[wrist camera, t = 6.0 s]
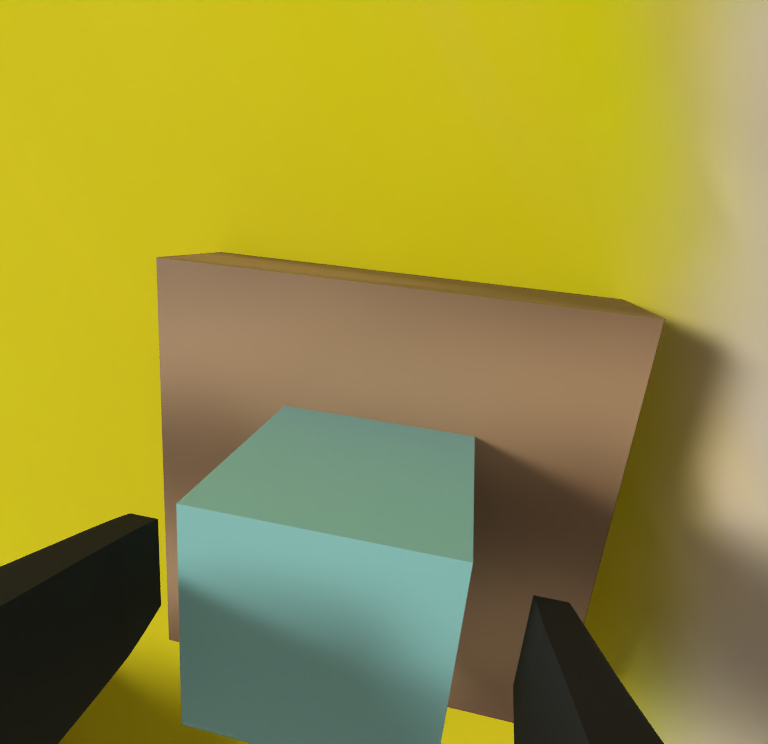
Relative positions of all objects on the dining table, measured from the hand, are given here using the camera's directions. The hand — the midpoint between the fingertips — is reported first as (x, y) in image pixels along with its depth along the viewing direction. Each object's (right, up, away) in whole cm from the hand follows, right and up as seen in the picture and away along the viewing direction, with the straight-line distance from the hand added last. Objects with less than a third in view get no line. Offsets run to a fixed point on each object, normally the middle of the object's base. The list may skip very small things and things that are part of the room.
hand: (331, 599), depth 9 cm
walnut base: (+1, +2, +6) cm, 6 cm away
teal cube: (+1, +1, +3) cm, 3 cm away
